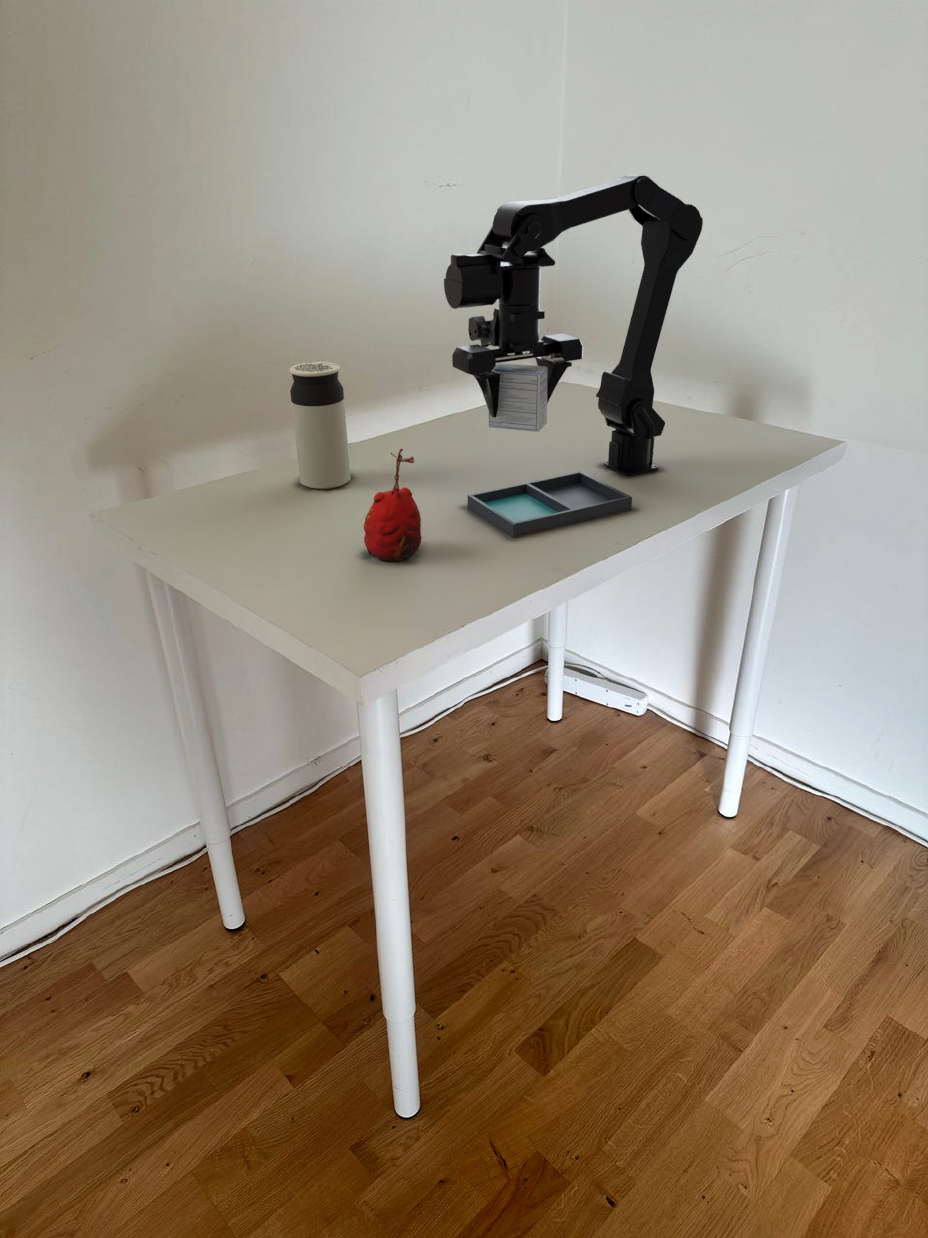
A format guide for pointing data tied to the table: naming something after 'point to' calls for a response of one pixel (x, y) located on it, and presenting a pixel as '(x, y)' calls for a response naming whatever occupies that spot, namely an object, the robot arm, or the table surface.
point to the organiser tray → (548, 503)
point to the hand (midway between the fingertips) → (517, 412)
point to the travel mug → (320, 425)
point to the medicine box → (521, 397)
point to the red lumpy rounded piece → (393, 522)
